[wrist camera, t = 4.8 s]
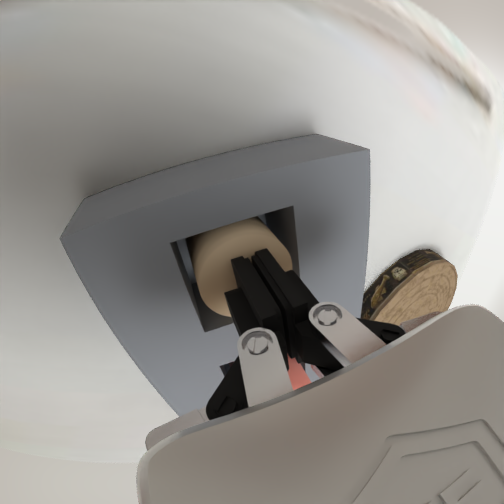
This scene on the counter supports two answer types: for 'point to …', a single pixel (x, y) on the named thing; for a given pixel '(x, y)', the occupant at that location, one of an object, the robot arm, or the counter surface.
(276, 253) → the knob
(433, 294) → the wood log slice
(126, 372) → the counter surface
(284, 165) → the knob panel
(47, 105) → the counter surface
